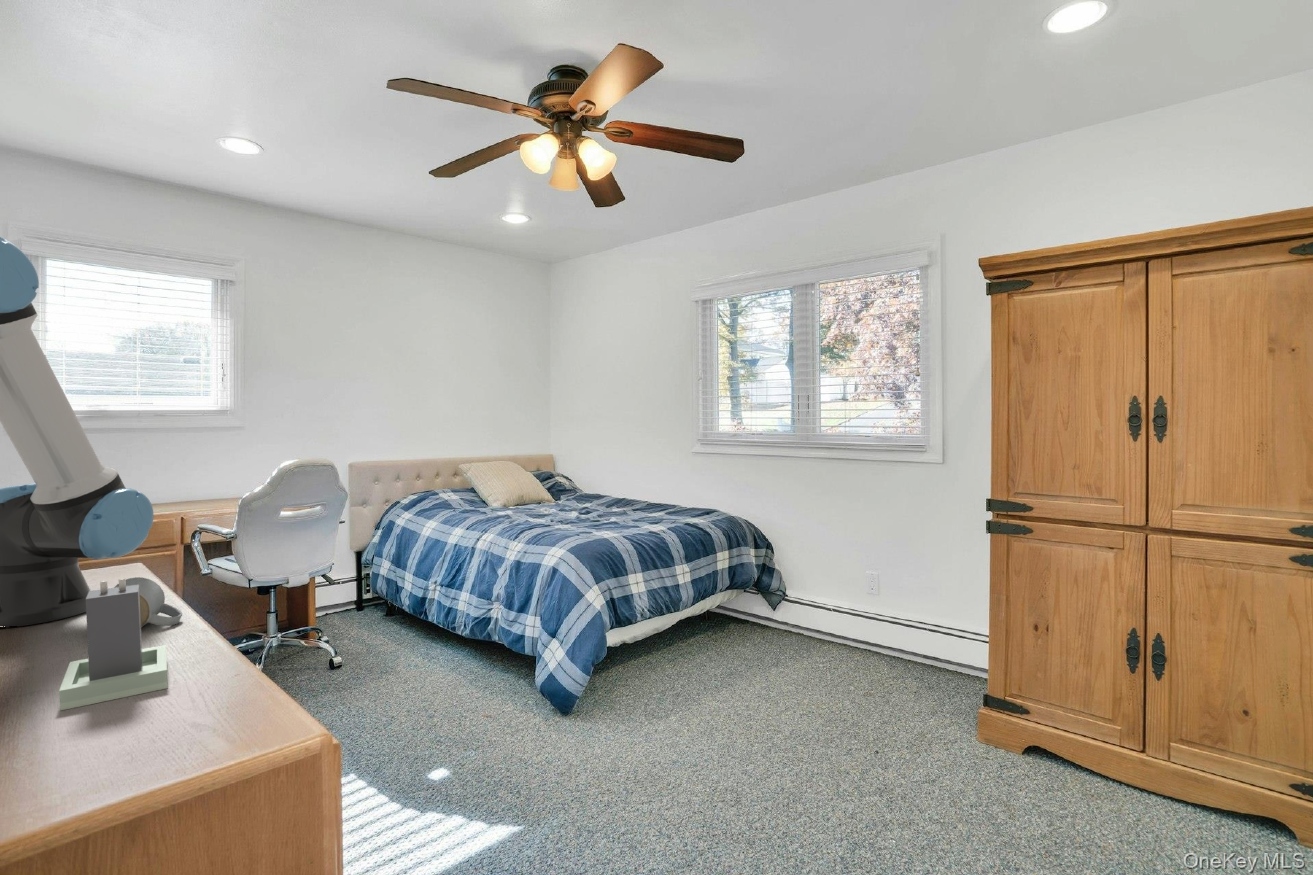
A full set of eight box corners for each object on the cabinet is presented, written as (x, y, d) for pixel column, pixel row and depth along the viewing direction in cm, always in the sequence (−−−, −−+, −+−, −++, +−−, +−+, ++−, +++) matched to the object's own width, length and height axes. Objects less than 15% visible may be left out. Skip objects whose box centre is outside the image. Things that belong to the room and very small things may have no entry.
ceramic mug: (92, 639, 103) (91, 590, 103) (110, 625, 110) (108, 579, 110) (175, 630, 107) (174, 583, 107) (187, 617, 115) (186, 572, 115)
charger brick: (93, 676, 85) (88, 579, 85) (142, 667, 88) (138, 573, 88) (89, 688, 81) (85, 587, 81) (141, 678, 84) (137, 580, 84)
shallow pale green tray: (71, 679, 86) (70, 661, 86) (166, 661, 92) (166, 644, 92) (60, 710, 77) (59, 690, 77) (167, 688, 83) (166, 669, 83)
